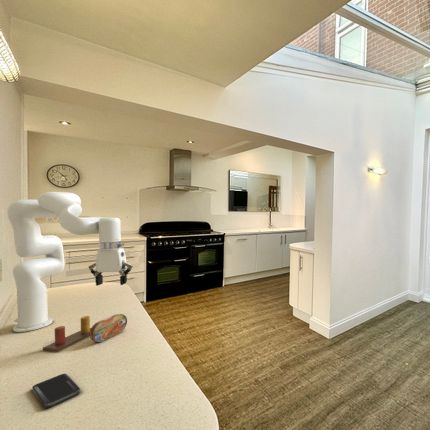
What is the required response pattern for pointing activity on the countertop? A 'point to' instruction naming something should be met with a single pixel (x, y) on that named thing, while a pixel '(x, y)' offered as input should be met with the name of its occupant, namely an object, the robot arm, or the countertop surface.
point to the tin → (108, 328)
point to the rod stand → (65, 342)
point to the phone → (55, 390)
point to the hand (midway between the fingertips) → (111, 284)
